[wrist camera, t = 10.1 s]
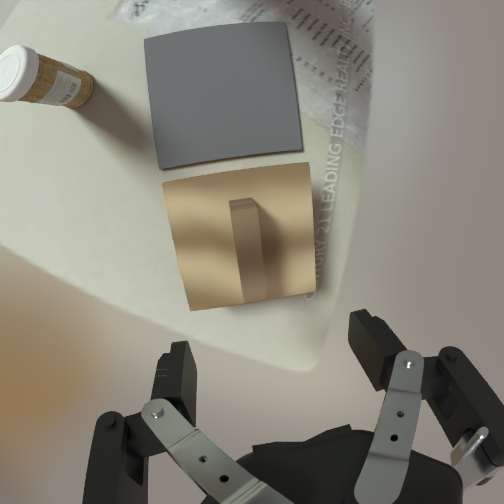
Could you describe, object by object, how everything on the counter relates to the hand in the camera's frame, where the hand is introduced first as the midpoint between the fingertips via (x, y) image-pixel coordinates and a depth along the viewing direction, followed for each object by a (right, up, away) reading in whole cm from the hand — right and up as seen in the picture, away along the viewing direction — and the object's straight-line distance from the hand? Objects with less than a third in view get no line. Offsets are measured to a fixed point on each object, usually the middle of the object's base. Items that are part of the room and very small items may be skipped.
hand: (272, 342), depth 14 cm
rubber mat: (-4, +21, +13) cm, 25 cm away
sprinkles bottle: (-20, +22, +10) cm, 32 cm away
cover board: (-2, +5, +14) cm, 15 cm away
